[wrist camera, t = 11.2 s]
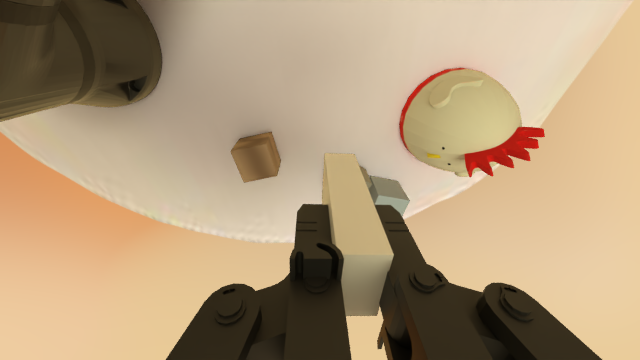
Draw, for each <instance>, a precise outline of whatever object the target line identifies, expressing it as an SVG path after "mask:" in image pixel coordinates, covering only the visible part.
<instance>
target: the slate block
mask: <svg viewBox="0 0 640 360" xmlns="http://www.w3.org/2000/svg"><path fill="white" fill-rule="evenodd" d="M369 178H370V181H371V183H372V185H371V186H370V187H369V189H368V190H369V193H370V195H371V198H372V200H373V203H374V205H391V206H393V207H394V208H395V209H396V210H397V211H398V212H399V213H400V214H401V216H403V214H404V212H405V210H406V207H407V205H408V203H409V201H410V200H409V198H408V197H407V195H406V194H405V192H404V190H403V189H402V187H401V186H400V184H399V182H398V181H395V180H390V179H385V178H380V177H374V176H370V177H369Z"/></svg>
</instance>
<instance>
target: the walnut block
mask: <svg viewBox="0 0 640 360" xmlns="http://www.w3.org/2000/svg"><path fill="white" fill-rule="evenodd" d="M231 154H232V156H233V158H234V161H235V163H236V165H237V167H238V170H239V172H240V174H241V177H242V179H243V181H244V182H249V181H254V180H259V179H264V178H269V177H273V176H277V175H278V171H279V167H280V163H281V160H280V157H279V154H278V151H277V148H276V145H275V142H274V138H273V135H272V132H268V133H264V134H259V135H255V136H250V137H246V138H241V139H239V141H238V142H237V143H236V145H235V146H234V147H233V149H232V150H231Z"/></svg>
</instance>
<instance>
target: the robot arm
mask: <svg viewBox="0 0 640 360" xmlns="http://www.w3.org/2000/svg"><path fill="white" fill-rule="evenodd" d="M160 73H161V51H160V46H159V42H158V38H157V36H156V33H155V30H154V28H153V26H152V24H151V22H150V20H149V18H148V17H147V15H146V13H145V12H144V10H143V9H142V8H141V6H140V5H139V4H138V2H137V1H136V0H0V122H1V121H5V120H9V119H13V118H16V117H20V116H24V115H27V114H31V113H35V112H39V111H43V110H47V109H50V108H54V107H58V106H61V105H65V104H80V105H90V106H100V107H118V106H124V105H127V104H130V103H133V102H136V101H139V100H141V99H143V98H144V97H146V96H147V95H148V94H149V93H150V92H151V91H152V90H153V89H154V87H155V86H156V84H157V82H158V80H159V77H160ZM379 307H380V308H381V312H382V315H383V319H384V321H383V324H382V327H381V331H380V334H379V337H378V340H377V342H378V343H377V344H378V349H381V348H382V345H383V342H384V346H385V350H386V355H387V358H388V360H602V359H601V358H600V357H599V356H597V355H596V354H595V353H594V352H593V351H592V350H591V349H590V348H589V347H587V346H586V345H585V344H584V343H583V342H582V341H581V340H580V339H578V338H577V337H576V336H575V335H574V334H573V333H572V332H571V331H569V330H568V329H567V328H566V327H565V326H564V325H563V324H562V323H560V322H559V321H558V320H557V319H556V318H555V317H554V316H553V315H551V314H550V313H549V312H548V311H547V310H546V309H545V308H544V307H543V306H541V305H540V304H539V303H538V302H537V301H536V300H535V299H533V298H532V297H531V296H529V295H528V294H526V293H525V292H524V291H522V290H520V289H518V288H516V287H514V286H511V285H507V284H504V283H491V284H490V285H488V286H486V287H485V289H484V291H483V292H479V291H475V290H472V289H468V288H464V287H461V286H457V285H454V284H451V283H449V282H448V280H447V279H446V278H445V277H444V276H443V274H442V273H441V272H440V271H438V270H437V269H436V268H434V267H433V266H430V265H428V264H426V262H425V260H424V258H423V256H422V254H421V252H420V250H419V249H418V247H417V245H416V243H415V241H414V239H413V237H412V235H411V233H410V232H409V229H408V227H407V226H406V224H405V222H404V220H403V218H402V216H401V214H400V213H399V212H398V211H397V210H396V209H395V208H394V207H393V206H391V205H374V203H373V200H372V198H371V195H370V193H369V190H368V188H367V185H366V182H365V180H364V177H363V175H362V172H361V170H360V167H359V164H358V162H357V159H356V157H355V154H331V153H325V156H324V173H323V190H322V204H303V205H302V206H301V208H300V209H299V210H298V212H297V221H296V234H295V246H294V250H293V251H292V253H291V256H290V273H289V274H288V276H287V277H286V278H285V279H284V280H282V281H281V282H279V283H278V284H275V285H273V286H271V287H267V288H264V289H261V290H258V291H255V290H254V289H253V288H252V287H250V286H247V285H245V284H231V285H227V286H224V287H222V288H220V289H219V290H217V291H215V292H214V293H212V295H211V296H210V297H209V298H208V299H207V300H206V301H205V302H204V304H203V305H202V307H201V308H200V310H199V311H198V313H197V314H196V316H195V317H194V319H193V320H192V321H191V323H190V325H189V326H188V327H187V329H186V330H185V332H184V333H183V335H182V336H181V338H180V339H179V341H178V342H177V344H176V345H175V347H174V348H173V350H172V351H171V353H170V354H169V356H168V357H167V359H166V360H351V353H350V345H349V338H348V329H347V322H346V316H377V314H378V310H379Z"/></svg>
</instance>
